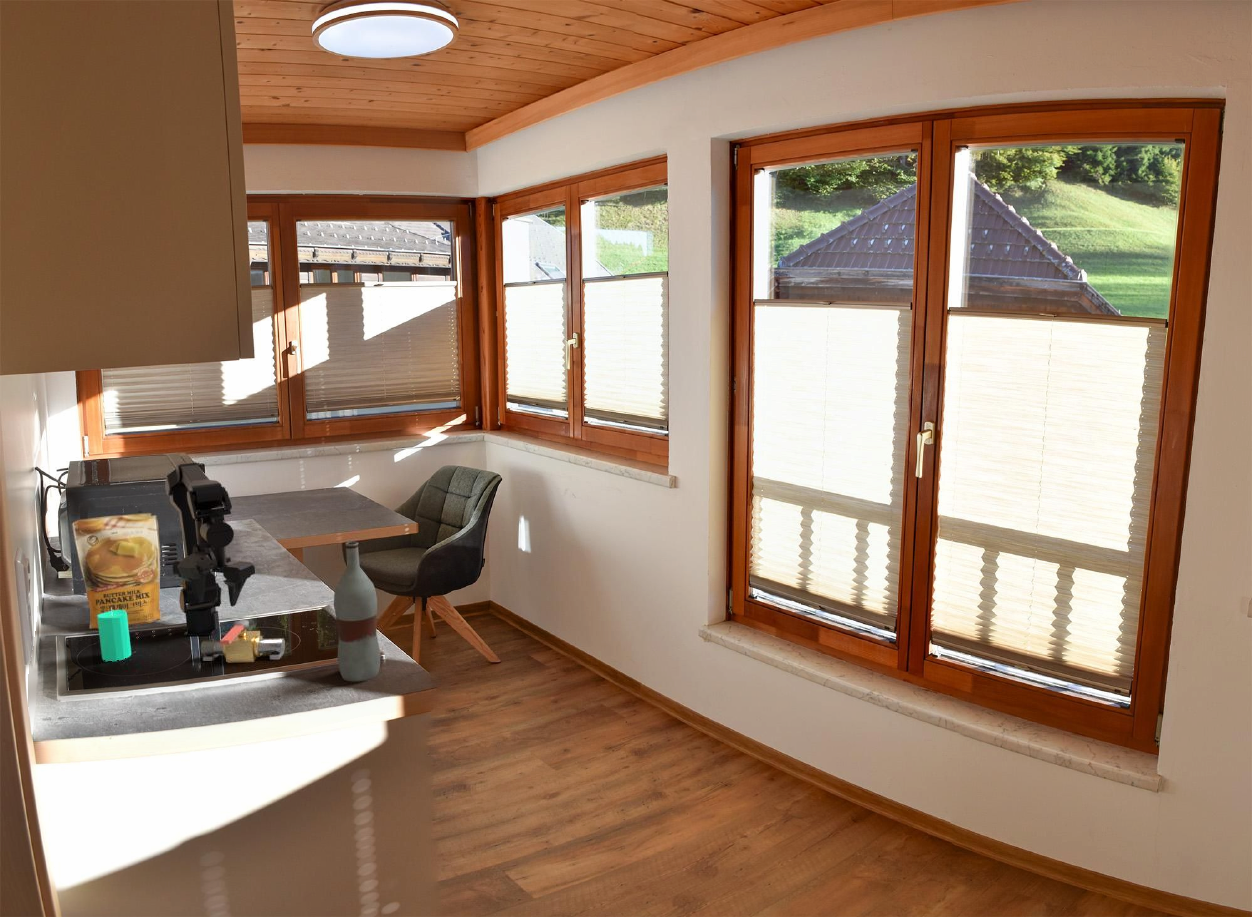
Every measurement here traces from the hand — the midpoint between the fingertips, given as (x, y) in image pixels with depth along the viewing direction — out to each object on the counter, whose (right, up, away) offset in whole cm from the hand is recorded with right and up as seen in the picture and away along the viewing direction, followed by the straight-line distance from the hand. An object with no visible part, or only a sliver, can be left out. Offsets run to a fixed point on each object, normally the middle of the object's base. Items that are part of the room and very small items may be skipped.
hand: (216, 603), depth 218 cm
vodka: (+35, -15, -8) cm, 39 cm away
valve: (+5, -13, +2) cm, 14 cm away
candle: (-25, -13, +3) cm, 28 cm away
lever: (+6, -6, -4) cm, 9 cm away
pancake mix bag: (-34, -9, +25) cm, 44 cm away
